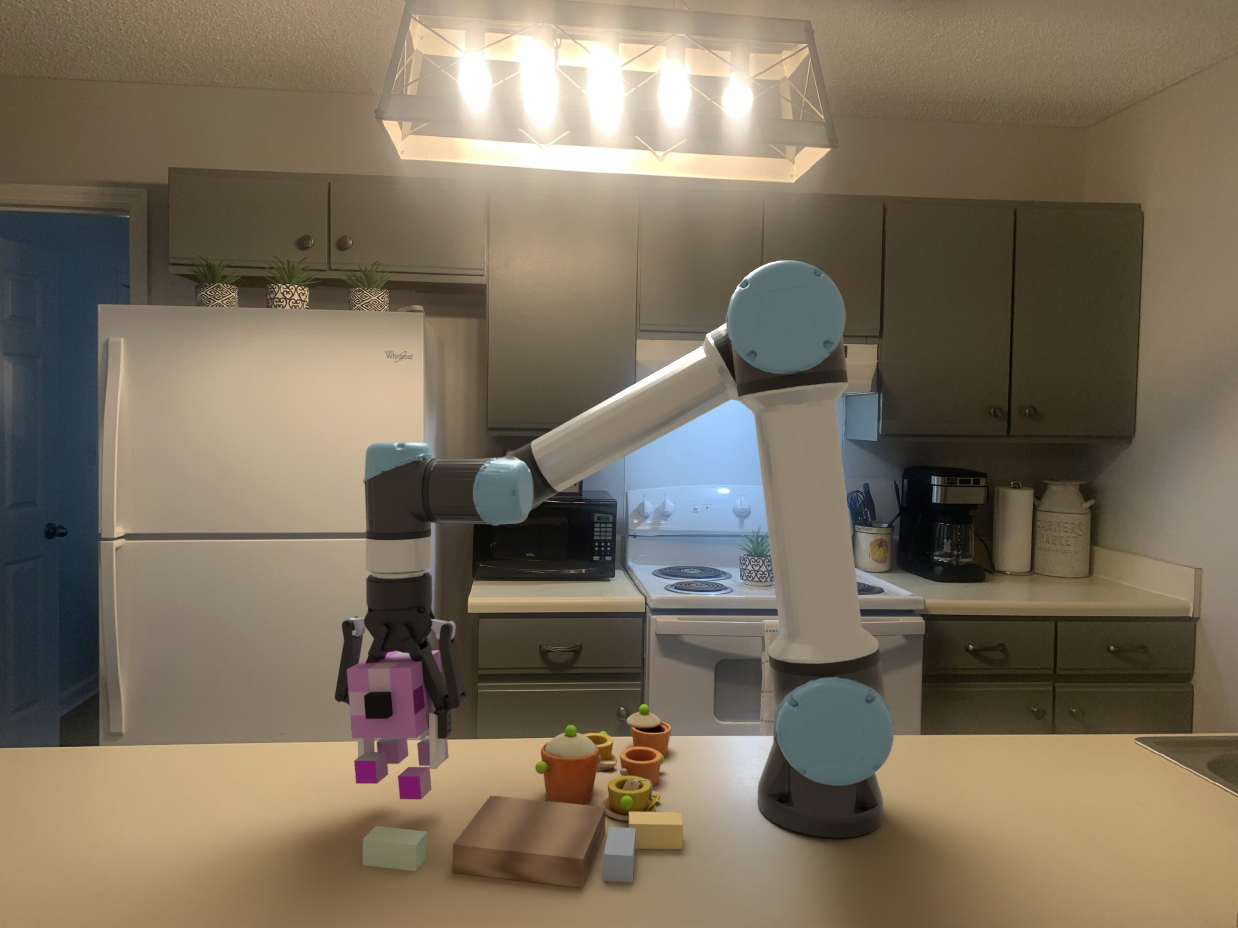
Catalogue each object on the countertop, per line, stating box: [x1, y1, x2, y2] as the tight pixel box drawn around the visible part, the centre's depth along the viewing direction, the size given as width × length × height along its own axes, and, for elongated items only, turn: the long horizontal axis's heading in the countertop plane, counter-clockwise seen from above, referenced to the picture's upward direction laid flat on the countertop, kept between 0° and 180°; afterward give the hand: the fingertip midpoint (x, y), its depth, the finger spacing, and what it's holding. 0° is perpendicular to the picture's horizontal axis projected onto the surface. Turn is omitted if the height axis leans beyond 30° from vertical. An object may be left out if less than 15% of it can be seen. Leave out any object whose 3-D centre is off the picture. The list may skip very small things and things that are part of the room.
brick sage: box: [362, 825, 428, 872], centre depth 88 cm, size 6×3×3 cm, turn 80°
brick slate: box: [602, 826, 636, 883], centre depth 88 cm, size 6×3×3 cm, turn 176°
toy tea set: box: [535, 704, 672, 822], centre depth 111 cm, size 26×16×10 cm, turn 168°
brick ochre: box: [628, 811, 684, 850], centre depth 94 cm, size 6×3×3 cm, turn 90°
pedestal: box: [452, 794, 606, 889], centre depth 91 cm, size 14×12×3 cm
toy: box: [347, 649, 450, 800], centre depth 98 cm, size 11×8×15 cm
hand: (401, 761), depth 98 cm, fingers closed on toy, 8 cm apart
